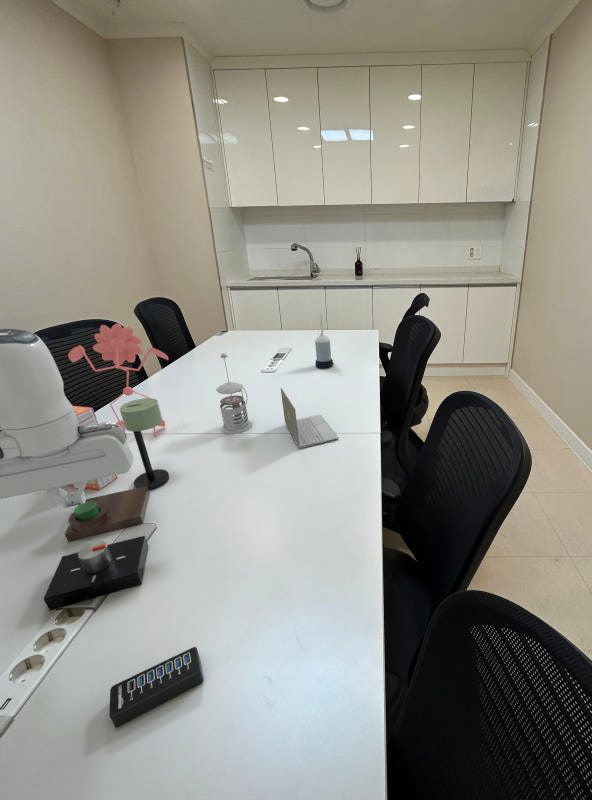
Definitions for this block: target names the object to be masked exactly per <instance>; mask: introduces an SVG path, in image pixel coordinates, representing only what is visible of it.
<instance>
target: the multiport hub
mask: <svg viewBox="0 0 592 800" xmlns="http://www.w3.org/2000/svg"><path fill="white" fill-rule="evenodd" d="M204 681H205V680H204V673H203V667H202V662H201V657H200V653H199V650H198V647H197V646H192V647H191V648H189V649H186V650H185V651H182V652H180V653H178V654H176V655H174V656H171V657H170V658H168V659H165V660H164V661H161V662H160V663H157V664H156V665H154V666H151V667H149V668H147V669H145V670H142V671H141V672H138V673H136V674H134V675H132V676H130V677H128V678H126V679H124V680H122V681H120V682H118V683H115V684H114V685H112V686H111V687H110V690H109V715H108V717H109V718H110V720H111V723H112V725H113V726H114V728H120V727H121V726H123V725H125V724H127V723H129V722H131V721H133V720H134V719H136V718H138V717H140V716H142V715H144V714H147V713H148V712H149V711H153V709H156V708H157V707H159V706H161V705H163V704H165V703H167V702H169V701H170V700H173V699H175V698H176V697H179V696H180V695H182V694H184V693H186V692H188V691H190V690H192V689H194V688H195V687H197V686H200V685H202V684H203V683H204Z"/></svg>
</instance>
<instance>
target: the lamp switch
mask: <svg viewBox="0 0 592 800" xmlns="http://www.w3.org/2000/svg"><path fill="white" fill-rule="evenodd" d="M74 512H75V515H76V517H77V519H78V520H79V521H84V520H88V519H90V518H92V517H95V516H96V515H97V514H98V513H99V508H98V505H97V503H96V502H95V501H88V502H85V503H83V504H80V505H79V506H78V505H76V507H75V508H74V511H73V513H74Z"/></svg>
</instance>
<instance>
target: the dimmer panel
mask: <svg viewBox="0 0 592 800" xmlns="http://www.w3.org/2000/svg"><path fill="white" fill-rule="evenodd" d="M107 545H108V548H109V550H110V553H111V556H112V562H111V563H110V565H109V566H108V567H106V568H105V569H103V570H102V571H99V572H97V573H92V574H89V573H86V572H85V571H84V569H83V566H82V564H81V562H80V560H79V557H78V553H79V551H78V552H74V553H70V554H66V555H62V556H61V558H60V561H59V563H58V565H57V567H56V569H55V572H54V574H53V576H52V578H51V581H50V583H49V585H48V588H47V590H46V592H45V593H44V595H43V601H44V604H45V605H46V607H47V609H48V611H49V612H52V611H55V610H58V609H61V608H65V607H68V606H72V605H75V604H79V603H82V602H86V601H89V600H93V599H97V598H99V597H103V596H107V595H110V594H113V593H117V592H120V591H124V590H129V589H131V588H135V587H138V586H142V585H143V579H144V574H145V568H146V563H147V558H148V551H149V544H148V540H147V537H146V535H141V536H137V537H133V538H129V539H125V540H122V541H117V542H114V543H109V544H107ZM96 597H97V598H96Z"/></svg>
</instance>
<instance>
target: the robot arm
mask: <svg viewBox="0 0 592 800" xmlns="http://www.w3.org/2000/svg"><path fill="white" fill-rule="evenodd" d="M64 386H65V385H64V380H63V378H62V375H61V373H60V370H59V368H58V365H57V363H56V361H55V359H54V357H53V355H52V353H51V351H50V349H49V348H48V347H47V345H46V343H45V342H44V341H43V340H42V339H41V338H40V336H38V335H37V334H35V333H33V332H31V331H27V330H24V329H18V328H17V329H16V328H1V329H0V500H3V499H9V498H13V497H14V498H15V497H18V496H24V495H27V494H32V493H37V492H41V491H46V493H47V494H48V496H50V497H52V498H54V499H56V500H57V501H60V503H61V506H62V507H63V508H64V509H65V508H70V507H74V506H78V505H79V504H83V503H85V501H86V499H87V496H86V494H85V489H86V488H85V486H86V483H87V481H89V480H94V479H99V478H103V477H108V476H113V475H117V476H119V475H123V474H126V473H128V472H129V471H130V470H131V468H132V466H133V464H134V460H135V459H134V456H133V453H132V450H131V448H130V446H129V444H128V443H127V438H128V436H127V433H126V430H125V431H124V429H123V427H122V426H120V425H118V424H116V423H112V422H111V421H105V422H101V423H98V424H95V425H86V426H81V427H80V425H79V422H78V420H77V417H76V414H75V412H74V409H73V406H74V405H73V404H72V403H71V402H70V401H69V399H68V398H67V396H66V394H65V391H64V390H65V389H64ZM114 426H116V427H114ZM70 484H73V485H74V486H73V488H74V489H77V491H74V492H67V491H66V490H64V489H63V488H62V487H64V486H70Z"/></svg>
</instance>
